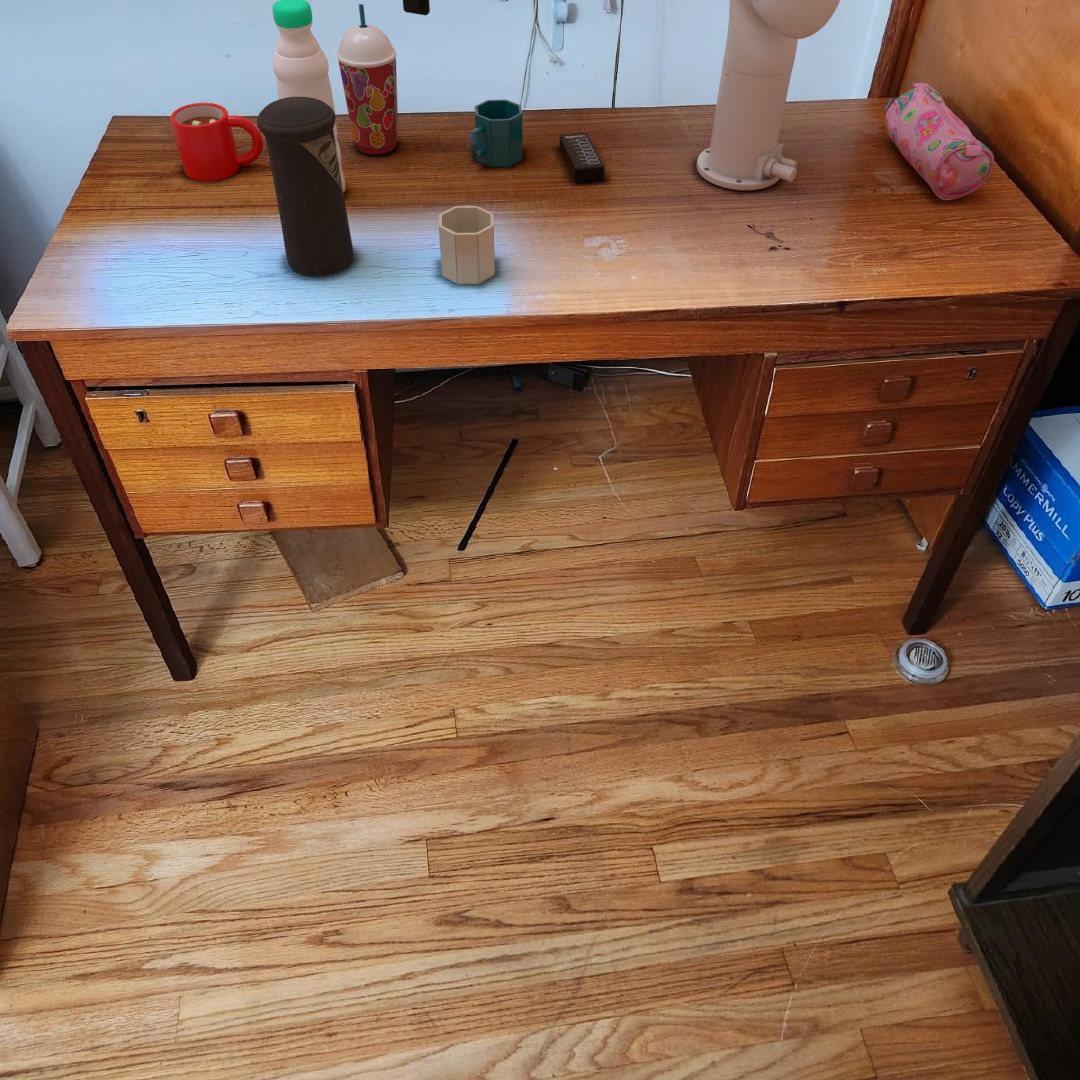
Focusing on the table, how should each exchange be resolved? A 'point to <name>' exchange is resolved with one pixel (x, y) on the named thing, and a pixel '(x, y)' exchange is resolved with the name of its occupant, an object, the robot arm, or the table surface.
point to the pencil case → (937, 143)
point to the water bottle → (301, 59)
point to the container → (307, 184)
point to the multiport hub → (581, 158)
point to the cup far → (497, 133)
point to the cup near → (467, 244)
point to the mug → (211, 141)
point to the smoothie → (370, 87)
